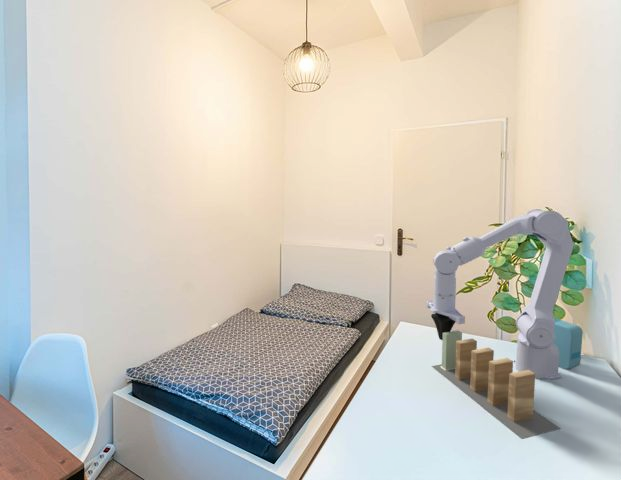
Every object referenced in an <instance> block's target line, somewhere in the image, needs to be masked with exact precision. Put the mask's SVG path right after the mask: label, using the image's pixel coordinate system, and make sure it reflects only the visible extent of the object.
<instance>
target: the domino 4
mask: <svg viewBox="0 0 621 480" xmlns="http://www.w3.org/2000/svg"><path fill="white" fill-rule="evenodd" d="M535 383H536V378H535V373H533V372H532V371H530V370H525V371H520V372H519V371H516V372H515V371H514V372H512V373H510V374H509V393H508V412H507V417H508V418H509V419H510V420H511V421H513V422H516V421H520V420H525V419H529V418H533V410H534V401H535V385H536V384H535Z"/></svg>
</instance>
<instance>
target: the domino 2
mask: <svg viewBox="0 0 621 480" xmlns="http://www.w3.org/2000/svg"><path fill="white" fill-rule="evenodd" d="M494 352H495V351H494V349H492V348H491V347H483V348H478V349H477V350H472V352H471V380H470V389H471V390H473V391H474V392H479V391H484V390H488V377H489V361H493V360H494V355H495V354H494Z"/></svg>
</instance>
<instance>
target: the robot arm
mask: <svg viewBox="0 0 621 480" xmlns="http://www.w3.org/2000/svg"><path fill="white" fill-rule="evenodd" d="M569 229H570V228H569V221H568V220H567V219H566V218H565V217H564V216H563V215H562V214H560V212H558V211H555V210H542V209H539V208H537V209H532V210H529V211H528V212H526V213H523V214H519V215H517V216H516V217H514V218H512V219H510V220H509V221H506V222H505V223H503V224H501V225H499V226H498V227H496V228H494V229H492V230H491V231H489V232H487V233H485V234H484V235H482V236H479V237H475V236H470V237H468V236H465V237H463V238H461V239H462V241H461V242H459V243H457V244H454V245H452V246H447V247H446V250H440V251H438V252H437V253H436V254H435V255H434V256H433V257H434V258H433V259H432V260H433V262H432V263H433V265H434V266H435V268H434V277H433V300H427V301H425V302H426V303H425V307H426V308H427V309H430V312H431V313H432V314H431V315H430V316H431V317H430V318H432V320H433V322H434V325H435V328H436V330H437V336H438V338H439V340H440V341H442V340H443V333H445V332H451V331H452V329H453V327H454V325H455V323H456V325H463V324H466V316H464V315H463V314H461V312H460V311H458V309H456V299H457V298H456V292H457V291H456V290H457V278H456V272H457V270H458V268H459V266H463V265H466V264H468V263H469V262H472V261H474V260H476V259H478V258H480V257H481V256H484V254H485V252H486V249H487V248H490V247H492V246H494V245H496V244H498V243H500V242H503V241H505V240H507V239H509V238H511V237H513V236H516V235H525V236H526V235H533V236H535V237H536V238H538V240H539V241H540V242H541V244H542V245H544V247H545V250H544V253H543V256H542V257H543V258H542V260H541V263H540V266H539V269H538V273H537V277H536V279H535V284H534V286H533V289H532V291H531V292H532V293H531V296H530V300H529V303H528V304H526V305H525V306H524V307H523V309H522V312H521V313H520V314H519V315H517V317H516V319H515V327H516V329H517V330H518V331H519V333H518V336H517V338H516V340H517V341H516V342H517V343H516V360H515V369H516V370H517V372H520V371H525V370H530V371H532V372H533V373H535V379H546V378H548V379H550V380H555V379H560V378H562V375H561V374H559V368H560V367H559V350H558V348H557V346H556V345H555V344H554V343H553V341H554V339H555V334H554V325H555V321H554V318H555V317H554V310H555V306H556V302H557V299H558V296H559V293H560V290H561V286H562V284H563V281H564V277H565V274H566V271H567V268H568V264H569V262H570V259H571V255H572V253H573V249H574V242H573V239H572V238H573V237H572V236H571V233H570V230H569Z"/></svg>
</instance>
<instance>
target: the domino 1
mask: <svg viewBox="0 0 621 480" xmlns="http://www.w3.org/2000/svg"><path fill="white" fill-rule="evenodd" d="M477 344H478V340H476V339H474V338H467V339H462V340H460V341H456V364H455V377H456V378H457V379H458V380H463V379H469V378H471V352H472V350H477V348H478V347H477V346H478V345H477Z"/></svg>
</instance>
